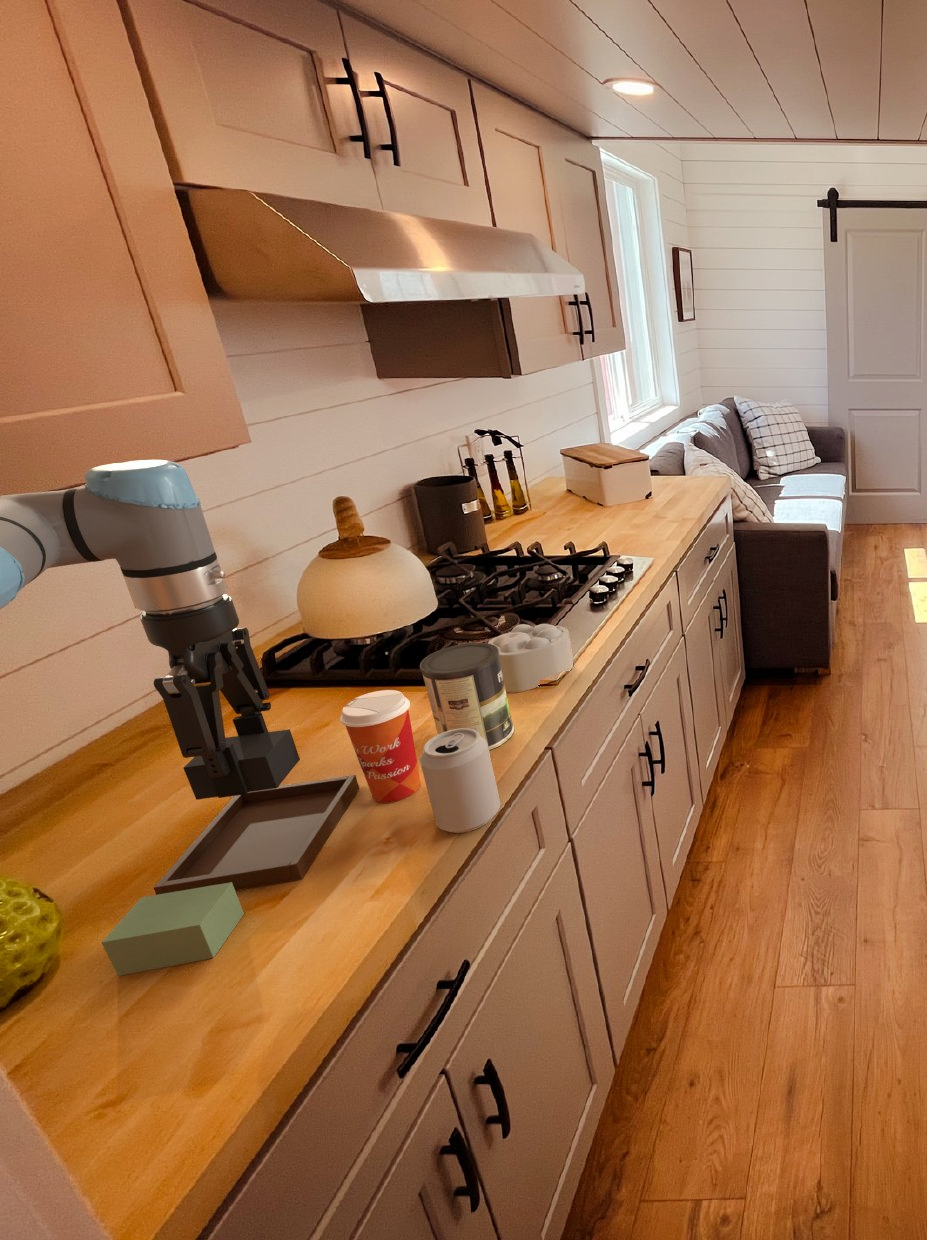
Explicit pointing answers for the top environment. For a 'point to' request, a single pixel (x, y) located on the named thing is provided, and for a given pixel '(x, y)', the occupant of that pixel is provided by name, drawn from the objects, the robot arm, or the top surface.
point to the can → (460, 780)
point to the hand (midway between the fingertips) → (249, 776)
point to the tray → (263, 837)
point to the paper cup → (384, 743)
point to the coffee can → (468, 691)
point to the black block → (250, 762)
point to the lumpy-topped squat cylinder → (532, 655)
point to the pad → (173, 929)
